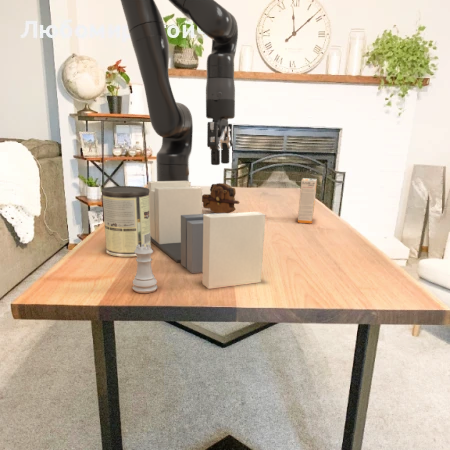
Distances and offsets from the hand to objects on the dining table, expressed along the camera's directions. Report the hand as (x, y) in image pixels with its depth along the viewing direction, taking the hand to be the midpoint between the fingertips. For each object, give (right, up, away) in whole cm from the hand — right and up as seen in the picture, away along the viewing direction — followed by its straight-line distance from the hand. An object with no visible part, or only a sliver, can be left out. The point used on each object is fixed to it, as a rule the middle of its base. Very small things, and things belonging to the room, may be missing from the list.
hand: (220, 164), depth 120 cm
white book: (+3, -34, -36) cm, 49 cm away
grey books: (-2, -30, -27) cm, 40 cm away
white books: (-9, -24, -12) cm, 28 cm away
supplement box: (+27, -11, +23) cm, 38 cm away
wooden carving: (-1, -8, +30) cm, 31 cm away
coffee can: (-21, -26, -18) cm, 38 cm away
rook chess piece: (-13, -35, -41) cm, 56 cm away
